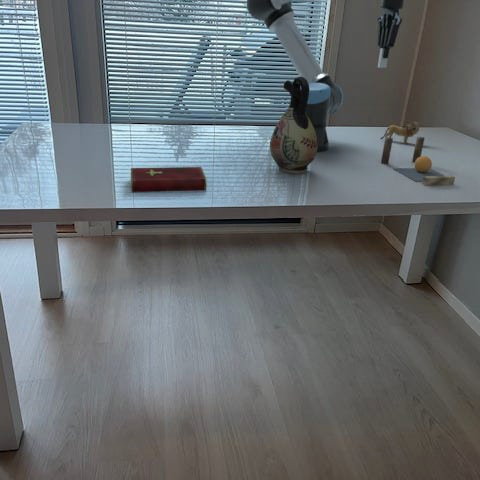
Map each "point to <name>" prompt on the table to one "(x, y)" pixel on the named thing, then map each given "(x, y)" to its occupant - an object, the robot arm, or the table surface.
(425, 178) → the rail
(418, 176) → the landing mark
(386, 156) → the left post
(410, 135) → the lion figurine
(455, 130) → the table surface
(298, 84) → the ceramic jug
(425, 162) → the ball
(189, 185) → the hardcover book
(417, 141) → the right post
